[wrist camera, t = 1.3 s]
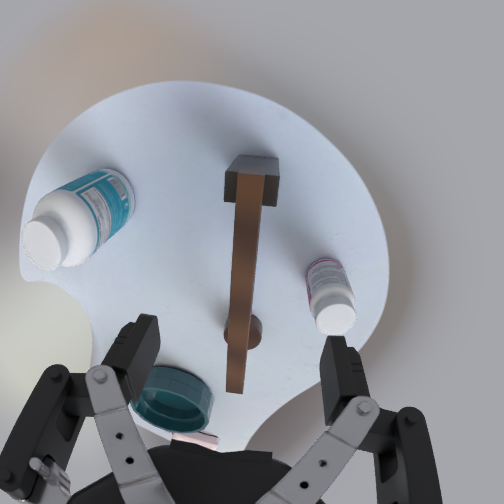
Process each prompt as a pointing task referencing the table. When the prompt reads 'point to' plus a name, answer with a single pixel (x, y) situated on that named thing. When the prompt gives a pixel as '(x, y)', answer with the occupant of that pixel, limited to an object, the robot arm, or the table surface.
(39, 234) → the pill bottle
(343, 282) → the pill bottle
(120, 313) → the table surface
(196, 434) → the soap bar
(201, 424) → the bowl
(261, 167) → the dark grey rubber eraser
